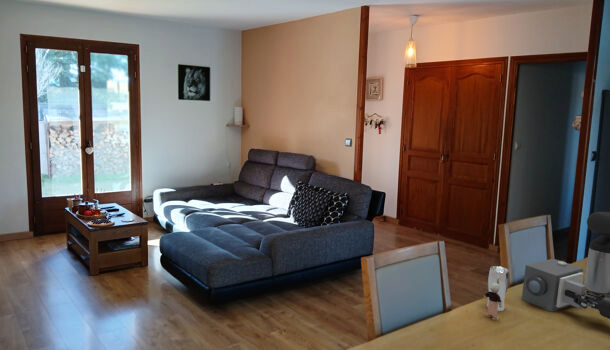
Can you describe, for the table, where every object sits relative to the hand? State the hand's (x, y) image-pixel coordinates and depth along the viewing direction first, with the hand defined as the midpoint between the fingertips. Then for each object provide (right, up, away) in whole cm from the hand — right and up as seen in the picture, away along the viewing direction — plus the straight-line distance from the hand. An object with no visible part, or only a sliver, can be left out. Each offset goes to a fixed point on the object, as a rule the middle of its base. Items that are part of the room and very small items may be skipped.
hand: (567, 291), depth 166 cm
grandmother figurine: (-30, -8, -5) cm, 32 cm away
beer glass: (-26, -7, +3) cm, 27 cm away
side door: (+4, -6, +2) cm, 7 cm away
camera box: (-2, -7, +10) cm, 12 cm away
